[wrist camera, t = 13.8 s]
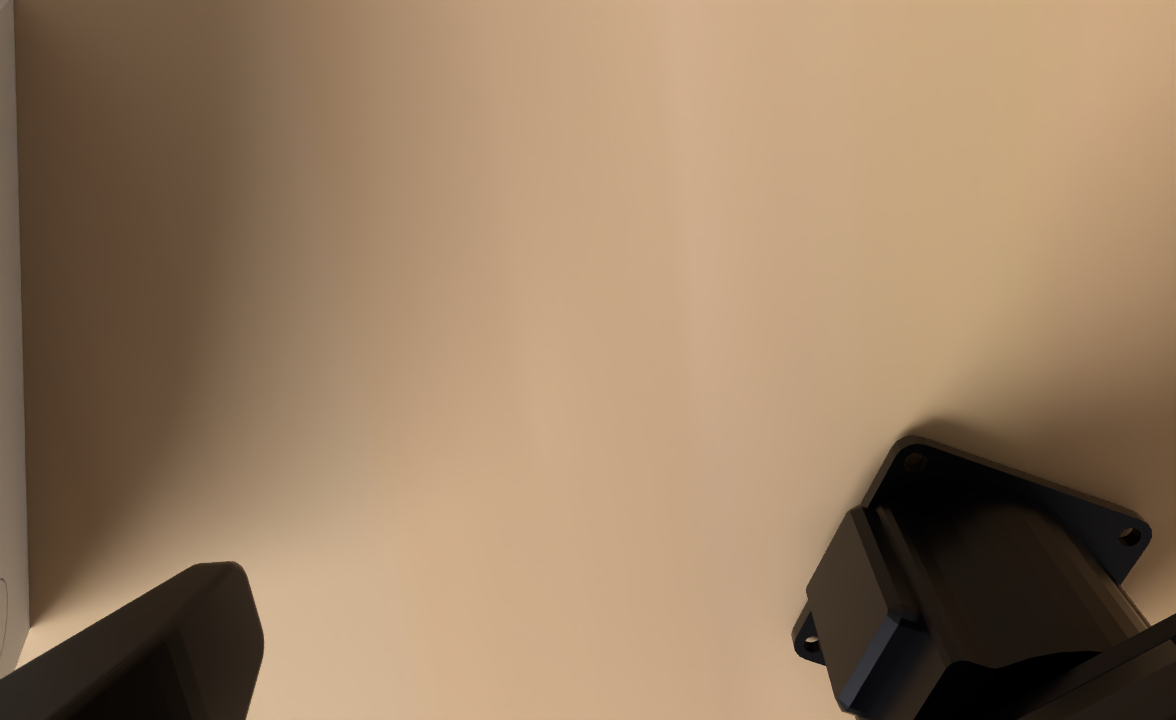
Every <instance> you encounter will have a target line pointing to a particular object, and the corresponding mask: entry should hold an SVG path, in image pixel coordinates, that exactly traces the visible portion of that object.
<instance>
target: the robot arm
mask: <svg viewBox="0 0 1176 720" xmlns="http://www.w3.org/2000/svg"><path fill="white" fill-rule="evenodd" d="M913 453H921V454H922V457H921V459H920V460H919V461H918V462H917V463H914V464H905V459H906V458H907V457H908V456H909V455H911V454H913ZM1128 528H1133V529H1132V531H1131V532H1130V533H1129V534H1128V535H1127V536H1124V537H1119V535H1120V533H1121V532H1122V531H1124V530H1125V529H1128ZM1151 538H1152V530H1151V528H1150V526H1149V525H1148V523H1147V522H1146V521H1145V520H1144V519H1143V518H1142V517H1141V516H1140V515H1139V514H1138V513H1136V512H1134V511H1132V510H1129V509H1126V508H1124V507H1121V506H1118V505H1115V504H1112V503H1109V502H1106V501H1104V500H1101V499H1098V498H1095V497H1092V496H1089V495H1086V494H1084V493H1081V492H1078V491H1075V490H1072V489H1069V488H1066V487H1064V486H1061V485H1058V484H1055V483H1052V482H1049V481H1046V480H1044V479H1041V478H1038V477H1035V476H1032V475H1029V474H1026V473H1024V472H1021V471H1018V470H1015V469H1012V468H1009V467H1006V466H1003V465H1001V464H998V463H995V462H992V461H989V460H986V459H983V458H981V457H978V456H975V455H972V454H969V453H966V452H963V451H961V450H958V449H955V448H952V447H949V446H946V445H943V444H941V443H938V442H935V441H932V440H929V439H926V438H923V437H920V436H914V435H912V436H907V437H903V438H902V439H900V440H898V441H897V442H896V443H895V444H894V445H893V446H892V448H891V449H890V451H889V453H888V455H887V457H886V459H885V460H884V462H883V464H882V466H881V468H880V470H879V471H878V473H877V475H876V477H875V479H874V481H873V482H872V484H871V486H870V488H869V490H868V492H867V493H866V495H865V497H864V499H863V501H862V503H861V504H860V505H858V506H856V507H854V508H852V509H851V510H849V511H848V512H847V513H846V515H845V517H844V519H843V521H842V523H841V524H840V526H839V528H838V530H837V532H836V534H835V536H834V537H833V539H832V541H831V543H830V545H829V547H828V548H827V550H826V552H825V554H824V556H823V558H822V560H821V561H820V563H819V565H818V567H817V569H816V571H815V573H814V574H813V576H812V578H811V580H810V582H809V584H808V585H807V588H806V593H807V597H808V602H807V604H806V605H805V607H804V609H803V611H802V613H801V615H800V616H799V618H798V620H797V622H796V624H795V626H794V627H793V630H792V634H791V635H792V640H793V644H794V649H795V651H796V653H797V654H798V655H799V656H800V657H802V658H804V659H806V660H809V661H812V662H815V663H818V664H821V665H824V666H826V667H827V671H828V674H829V678H830V682H831V685H832V689H833V693H834V696H835V699H836V701H837V703H838V705H839V708H840V709H841V711H842V712H845V713H848V714H851V715H854V716H855V718H856V720H1176V614H1174V615H1172V616H1170V617H1168V618H1166V619H1164V620H1163V621H1161V622H1159V623H1157V624H1155V625H1153V626H1151V625H1150V624H1149V622H1148V621H1147V620H1146V618H1145V617H1144V616H1143V614H1142V613H1141V612H1140V611H1139V609H1138V608H1137V607H1136V605H1135V604H1134V603H1133V602H1132V600H1131V599H1130V598H1129V596H1128V595H1127V594H1126V592H1125V591H1124V590H1123V589H1122V587H1121V586H1120V585H1121V583H1122V582H1123V580H1124V579H1125V577H1126V576H1127V574H1128V573H1129V572H1130V570H1131V569H1132V567H1133V566H1134V564H1135V563H1136V562H1137V560H1138V559H1139V557H1140V556H1141V554H1142V553H1143V551H1144V550H1145V549H1146V547H1147V546H1148V544H1149V542H1150V540H1151ZM812 636H818V637H819V639H818V640H817V641H815V642H806V641H805V640H806V639H807V638H809V637H812ZM263 653H264V634H263V630H262V626H261V622H260V619H259V615H258V612H257V608H256V605H255V602H254V598H253V595H252V591H251V588H250V584H249V581H248V577H247V575H246V572H245V570H244V569H243V567H242V566H241V565H239V564H238V563H236V562H233V561H227V562H212V563H199V564H196V565H193V566H191V567H189V568H187V569H186V570H184V571H182V572H181V573H179V574H177V575H176V576H174V577H172V578H170V579H169V580H167V581H165V582H164V583H162V584H160V585H159V586H157V587H155V588H154V589H152V590H150V591H148V592H147V593H145V594H143V595H142V596H140V597H138V598H137V599H135V600H133V601H132V602H130V603H128V604H126V605H125V606H123V607H121V608H120V609H118V610H116V611H115V612H113V613H111V614H110V615H108V616H106V617H105V618H103V619H101V620H99V621H98V622H96V623H94V624H93V625H91V626H89V627H88V628H86V629H84V630H83V631H81V632H79V633H77V634H76V635H74V636H72V637H71V638H69V639H67V640H66V641H64V642H62V643H61V644H59V645H57V646H55V647H54V648H52V649H50V650H49V651H47V652H45V653H44V654H42V655H40V656H39V657H37V658H35V659H33V660H32V661H30V662H28V663H27V664H25V665H23V666H22V667H20V668H18V669H17V670H15V671H13V672H12V673H10V674H8V675H6V676H5V677H3V678H1V679H0V720H246V717H247V713H248V710H249V706H250V703H251V699H252V695H253V692H254V688H255V685H256V681H257V677H258V674H259V670H260V667H261V663H262V659H263Z"/></svg>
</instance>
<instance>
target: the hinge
mask: <svg viewBox="0 0 1176 720" xmlns="http://www.w3.org/2000/svg"><path fill="white" fill-rule="evenodd" d="M29 629H30V616H29V577H28V539H27V500H26V462H25V423H24V385H23V347H22V308H21V270H20V231H19V193H18V154H17V116H16V77H15V39H14V1H13V0H0V679H1V678H3V677H5V676H6V675H8V674H10V673H12V672H13V671H14V670H15V668H16V665H17V662H18V659H19V657H20V654H21V651H22V649H23V646H24V643H25V640H26V638H27V635H28V632H29Z"/></svg>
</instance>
